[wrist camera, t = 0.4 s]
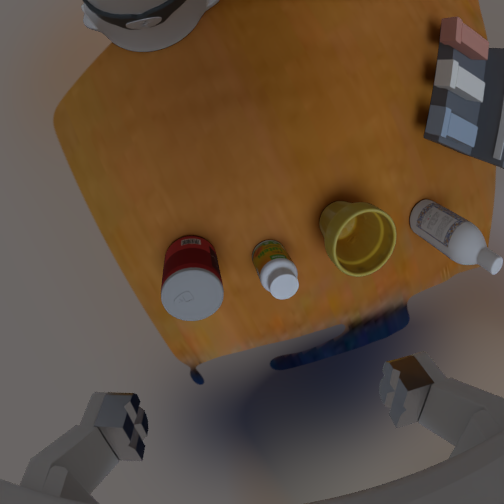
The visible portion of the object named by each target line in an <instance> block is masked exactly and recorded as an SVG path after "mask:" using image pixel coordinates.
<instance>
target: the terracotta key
mask: <svg viewBox="0 0 504 504" xmlns="http://www.w3.org/2000/svg"><path fill="white" fill-rule="evenodd" d="M440 42H441V43H443V44H444V45H450V46H451V47H453V48H455V49H456V50H458V51H459V52H461V53H462V54H464V55H465V56H467V57H468V58H470V59H471V60H488V49H489V42H488V41H487V40H485V39H484V38H483V37H482V36H480V35H479V34H478V33H476V32H475V31H474V30H472V29H471V28H470V27H468V26H467V25H465V24H464V23H462V20H461V19H460V18H459V17H451V18H444V19H442V23H441V34H440Z"/></svg>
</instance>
